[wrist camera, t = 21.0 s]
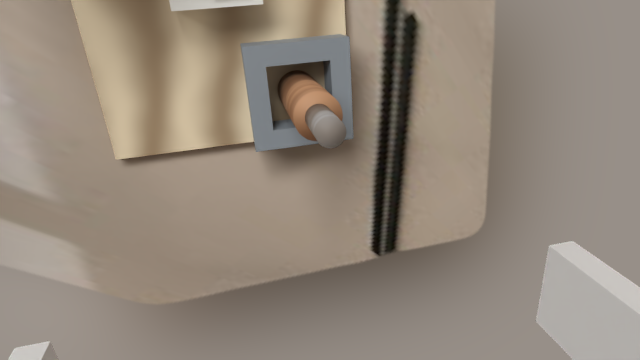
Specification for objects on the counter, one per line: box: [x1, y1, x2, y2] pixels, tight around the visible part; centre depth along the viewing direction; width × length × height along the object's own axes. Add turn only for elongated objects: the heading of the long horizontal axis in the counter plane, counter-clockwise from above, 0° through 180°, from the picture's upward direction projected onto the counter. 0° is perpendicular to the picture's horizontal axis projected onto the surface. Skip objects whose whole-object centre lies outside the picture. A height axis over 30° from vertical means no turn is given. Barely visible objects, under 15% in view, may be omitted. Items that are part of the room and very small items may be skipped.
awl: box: [278, 70, 346, 148], centre depth 33 cm, size 4×4×14 cm
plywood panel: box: [71, 0, 346, 160], centre depth 37 cm, size 22×18×1 cm
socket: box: [240, 34, 353, 152], centre depth 38 cm, size 9×9×3 cm
